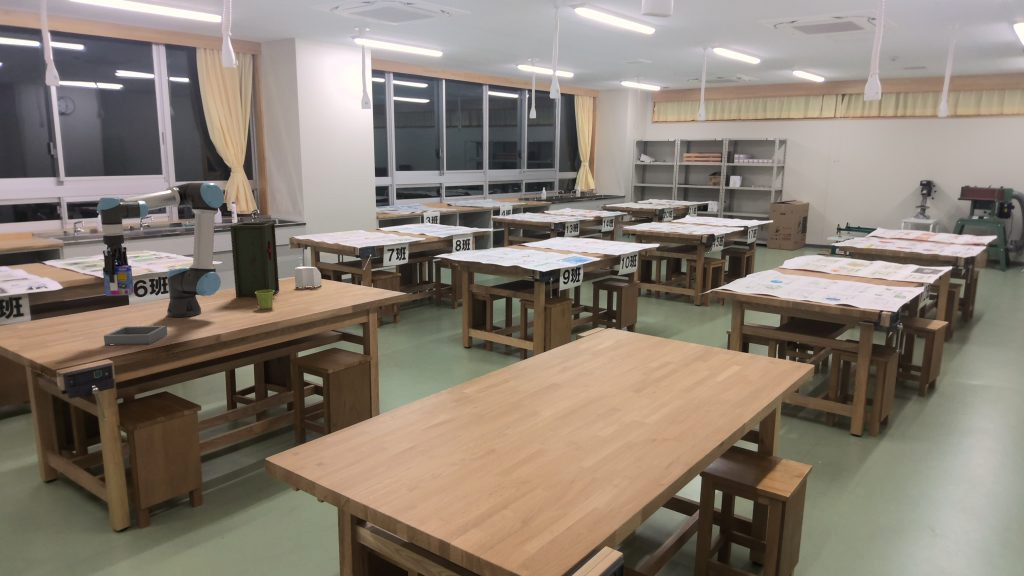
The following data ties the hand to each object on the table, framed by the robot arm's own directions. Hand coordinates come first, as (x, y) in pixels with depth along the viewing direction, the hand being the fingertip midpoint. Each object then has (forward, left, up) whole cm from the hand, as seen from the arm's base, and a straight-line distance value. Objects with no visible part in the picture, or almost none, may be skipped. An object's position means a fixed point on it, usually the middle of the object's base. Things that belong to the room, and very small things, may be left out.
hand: (119, 288), depth 284 cm
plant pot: (-56, +43, -21) cm, 74 cm away
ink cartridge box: (0, 0, -3) cm, 3 cm away
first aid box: (-94, +27, -21) cm, 100 cm away
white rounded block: (-116, +50, -21) cm, 128 cm away
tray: (+5, +8, -21) cm, 23 cm away
